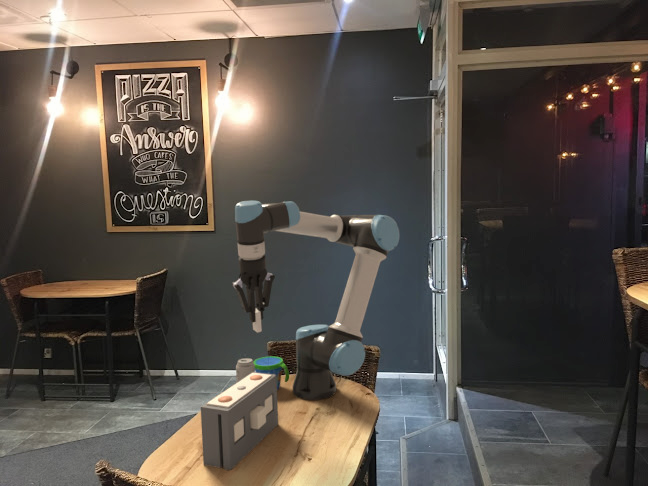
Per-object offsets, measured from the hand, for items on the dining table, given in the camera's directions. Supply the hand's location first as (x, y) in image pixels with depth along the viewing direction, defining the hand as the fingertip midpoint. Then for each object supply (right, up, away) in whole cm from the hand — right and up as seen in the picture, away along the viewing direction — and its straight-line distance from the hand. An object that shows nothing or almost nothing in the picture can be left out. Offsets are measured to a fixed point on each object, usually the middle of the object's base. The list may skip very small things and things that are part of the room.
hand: (257, 330), depth 144 cm
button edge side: (-3, -24, -19) cm, 31 cm away
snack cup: (0, -26, +28) cm, 38 cm away
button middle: (+2, -24, -13) cm, 27 cm away
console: (-2, -29, -11) cm, 31 cm away
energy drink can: (-5, -27, +15) cm, 31 cm away
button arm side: (+3, -23, -4) cm, 23 cm away
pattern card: (-2, -14, -12) cm, 19 cm away
